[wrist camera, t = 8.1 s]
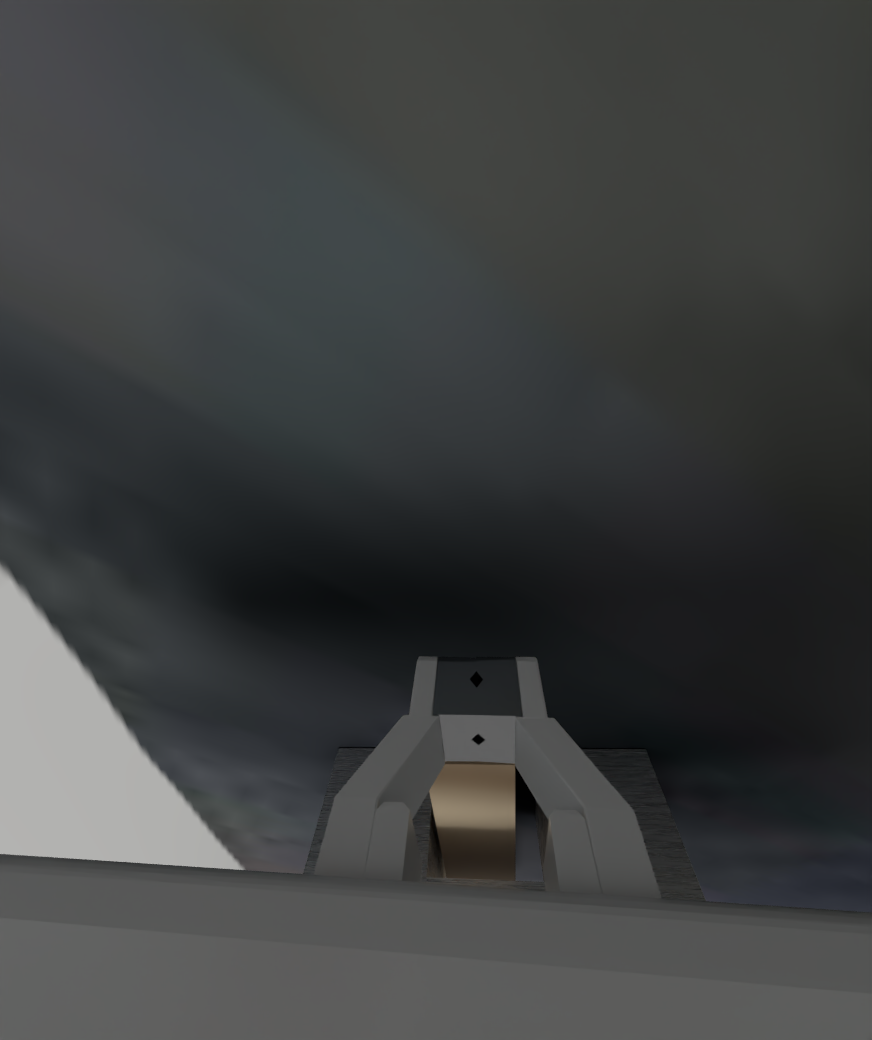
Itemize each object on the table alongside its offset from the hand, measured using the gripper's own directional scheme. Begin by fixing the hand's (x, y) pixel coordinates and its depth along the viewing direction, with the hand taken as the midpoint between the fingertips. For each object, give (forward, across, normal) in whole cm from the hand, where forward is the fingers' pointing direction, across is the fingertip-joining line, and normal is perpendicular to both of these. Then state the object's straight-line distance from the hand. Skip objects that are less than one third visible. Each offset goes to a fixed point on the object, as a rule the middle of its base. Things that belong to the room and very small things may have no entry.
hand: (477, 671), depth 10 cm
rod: (+3, 0, +13) cm, 13 cm away
